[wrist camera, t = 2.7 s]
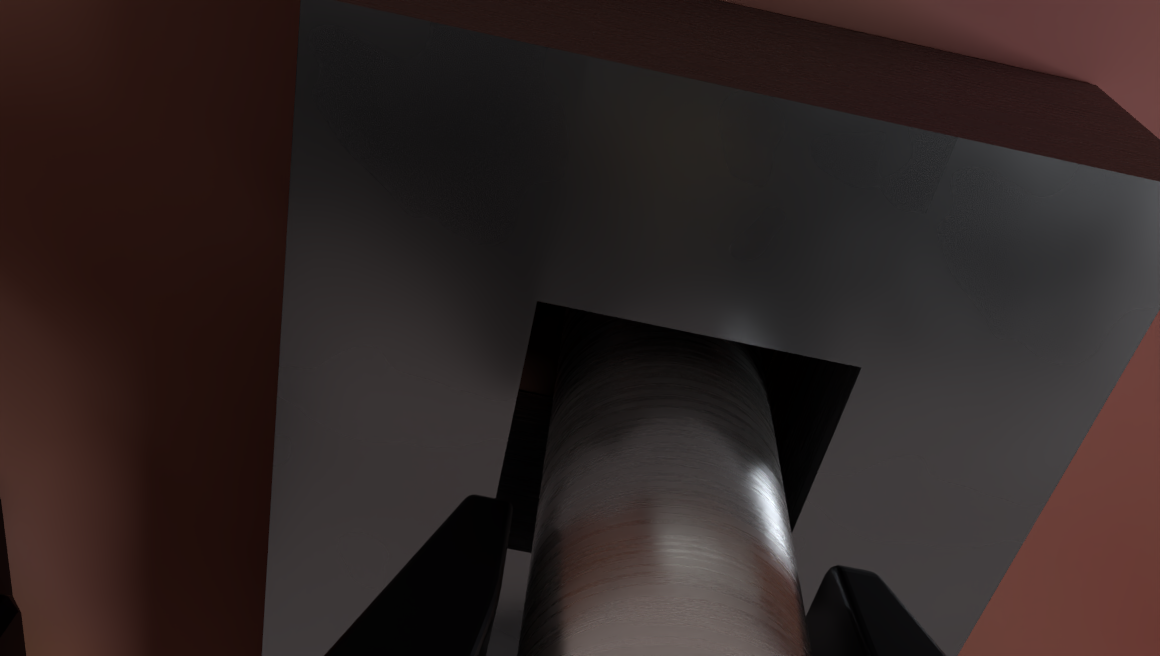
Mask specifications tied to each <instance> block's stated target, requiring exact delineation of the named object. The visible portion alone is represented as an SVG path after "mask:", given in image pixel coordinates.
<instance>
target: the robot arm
mask: <svg viewBox="0 0 1160 656" xmlns="http://www.w3.org/2000/svg"><path fill="white" fill-rule="evenodd" d="M512 514H513V506H512V504H511V503H510V502H509V501H507V500H502V499H497V498H492V497H487V496H481V495H476V494H473V495H469V496H468V497H466V498H465V499H464V500H463V501H462V502H461V503H460V504H459V506H458V507H457V508H456V509H455V510H454V511H453V512H452V513H451V514H450V516H449V517H448V518H447V519H446V520H445V521H444V522H443V523H442V525H441V526H440V527H439V528H438V529H437V530H436V531H435V532H434V533H433V535H432V536H431V537H430V538H429V539H428V540H427V541H426V542H425V543H424V545H423V546H422V547H421V548H420V549H419V550H418V551H417V552H416V553H415V555H414V556H413V557H412V558H411V559H410V560H409V561H408V562H407V564H406V565H405V566H404V567H403V568H402V569H401V570H400V571H399V572H398V574H397V575H396V576H395V577H394V578H393V579H392V580H391V581H390V582H389V584H388V585H387V586H386V587H385V588H384V589H383V590H382V591H381V593H380V594H379V595H378V596H377V597H376V598H375V599H374V600H373V601H372V603H371V604H370V605H369V606H368V607H367V608H366V609H365V610H364V611H363V613H362V614H361V615H360V616H359V617H358V618H357V619H356V620H355V621H354V623H353V624H352V625H351V626H350V627H349V628H348V629H347V630H346V632H345V633H344V634H343V635H342V636H341V637H340V638H339V639H338V640H337V642H336V643H335V644H334V645H333V646H332V647H331V648H330V649H329V650H328V652H327V653H326V654H325V655H324V656H486V654H487V649H488V645H489V640H490V636H491V632H492V627H493V623H494V619H495V614H496V610H497V606H498V601H499V596H500V592H501V587H502V580H503V574H504V567H505V560H506V554H507V547H508V541H509V534H510V527H511V521H512ZM806 622H807V627H808V633H809V639H810V645H811V651H812V656H946V655H945V653H944V652H943V651H942V650H941V649H940V647H939V646H938V645H937V644H936V643H935V641H934V640H933V639H932V638H931V637H930V635H929V634H928V633H927V632H926V631H925V629H924V628H923V627H922V626H921V625H920V623H919V622H918V621H917V620H916V619H915V618H914V616H913V615H912V614H911V613H910V612H909V610H908V609H907V608H906V607H905V606H904V604H903V603H902V602H901V601H900V600H899V598H898V597H897V596H896V595H895V594H894V592H893V591H892V590H891V589H890V588H889V586H888V585H887V584H886V583H885V582H884V580H883V579H882V578H881V577H880V576H879V575H877V574H876V573H874V572H871V571H868V570H863V569H858V568H852V567H847V566H842V565H836V566H833V567H831V568H830V569H829V570H828V571H827V572H826V574H825V576H824V578H823V580H822V582H821V584H820V587H819V589H818V591H817V593H816V595H815V597H814V600H813V602H812V604H811V606H810V608H809V611H808V613H807V615H806ZM0 656H26V651H25V642H24V634H23V625H22V617H21V612H20V610H19V608H18V606H17V604H16V602H15V600H14V598H13V594H12V586H11V578H10V570H9V562H8V554H7V546H6V537H5V529H4V521H3V513H2V505H1V499H0Z"/></svg>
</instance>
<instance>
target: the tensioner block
mask: <svg viewBox="0 0 1160 656" xmlns="http://www.w3.org/2000/svg"><path fill="white" fill-rule="evenodd" d="M537 301H540V302H545V303H549V304H554V305H559V306H564V307H569V308H574V309H579V310H584V311H588V312H593V313H598V314H603V315H608V316H613V317H618V318H623V319H627V320H632V321H637V322H642V323H647V324H652V325H657V326H662V327H666V328H671V329H676V330H681V331H686V332H691V333H696V334H701V335H705V336H710V337H715V338H720V339H725V340H730V341H735V342H740V343H744V344H749V345H754V346H759V347H764V348H769V349H774V350H775V351H774V354H773V357H772V360H771V362H770V365H769V368H768V371H767V373H766V376H765V380H766V386H767V392H768V398H769V404H770V410H771V416H772V421H773V427H774V433H775V439H776V445H777V451H778V457H779V463H780V469H781V474H782V480H783V486H784V492H785V498H786V504H787V510H788V516H789V521H790V527H791V533H792V539H793V545H794V551H795V557H796V563H797V569H798V574H799V580H800V586H801V592H802V598H803V604H804V610H805V616H806V615H807V613H808V611H809V608H810V606H811V604H812V602H813V600H814V597H815V595H816V593H817V591H818V589H819V587H820V584H821V582H822V580H823V578H824V576H825V574H826V572H827V571H828V570H829V569H830V568H831V567H833V566H836V565H842V566H847V567H852V568H858V569H863V570H868V571H871V572H874V573H876V574H877V575H879V576H880V577H881V578H882V579H883V580H884V582H885V583H886V584H887V585H888V586H889V588H890V589H891V590H892V591H893V592H894V594H895V595H896V596H897V597H898V598H899V600H900V601H901V602H902V603H903V604H904V606H905V607H906V608H907V609H908V610H909V612H910V613H911V614H912V615H913V616H914V618H915V619H916V620H917V621H918V622H919V623H920V625H921V626H922V627H923V628H924V629H925V631H926V632H927V633H928V634H929V635H930V637H931V638H932V639H933V640H934V641H935V643H936V644H937V645H938V646H939V647H940V649H941V650H942V651H943V652H944V653H945V655H946V656H957V655H958V654H959V652H960V650H961V648H962V647H963V645H964V643H965V642H966V640H967V638H968V636H969V635H970V633H971V631H972V630H973V628H974V626H975V624H976V623H977V621H978V619H979V618H980V616H981V614H982V612H983V611H984V609H985V607H986V606H987V604H988V602H989V600H990V599H991V597H992V595H993V594H994V592H995V590H996V588H997V587H998V585H999V583H1000V582H1001V580H1002V578H1003V577H1004V575H1005V573H1006V571H1007V570H1008V568H1009V566H1010V565H1011V563H1012V561H1013V559H1014V558H1015V556H1016V554H1017V553H1018V551H1019V549H1020V547H1021V546H1022V544H1023V542H1024V541H1025V539H1026V537H1027V535H1028V534H1029V532H1030V530H1031V529H1032V527H1033V525H1034V523H1035V522H1036V520H1037V518H1038V517H1039V515H1040V513H1041V511H1042V510H1043V508H1044V506H1045V505H1046V503H1047V501H1048V499H1049V498H1050V496H1051V494H1052V493H1053V491H1054V489H1055V487H1056V486H1057V484H1058V482H1059V481H1060V479H1061V477H1062V475H1063V474H1064V472H1065V470H1066V469H1067V467H1068V465H1069V464H1070V462H1071V460H1072V458H1073V457H1074V455H1075V453H1076V452H1077V450H1078V448H1079V446H1080V445H1081V443H1082V441H1083V440H1084V438H1085V436H1086V434H1087V433H1088V431H1089V429H1090V428H1091V426H1092V424H1093V422H1094V421H1095V419H1096V417H1097V416H1098V414H1099V412H1100V410H1101V409H1102V407H1103V405H1104V404H1105V402H1106V400H1107V398H1108V397H1109V395H1110V393H1111V392H1112V390H1113V388H1114V386H1115V385H1116V383H1117V381H1118V380H1119V378H1120V376H1121V374H1122V373H1123V371H1124V369H1125V368H1126V366H1127V364H1128V362H1129V361H1130V359H1131V357H1132V356H1133V354H1134V352H1135V351H1136V349H1137V347H1138V345H1139V344H1140V342H1141V340H1142V339H1143V337H1144V335H1145V333H1146V332H1147V330H1148V328H1149V327H1150V325H1151V323H1152V321H1153V320H1154V318H1155V316H1156V315H1157V313H1158V311H1159V309H1160V139H1158V138H1157V137H1156V136H1155V135H1154V134H1153V133H1151V132H1150V131H1149V130H1148V129H1147V128H1146V127H1144V126H1143V125H1142V124H1141V123H1140V122H1139V121H1137V120H1136V119H1135V118H1134V117H1133V116H1132V115H1130V114H1129V113H1128V112H1127V111H1126V110H1125V109H1123V108H1122V107H1121V106H1120V105H1119V104H1118V103H1116V102H1115V101H1114V100H1113V99H1112V98H1110V97H1109V96H1108V95H1107V94H1106V93H1105V92H1103V91H1102V90H1101V89H1100V88H1099V87H1098V86H1096V85H1093V84H1088V83H1084V82H1079V81H1075V80H1070V79H1066V78H1061V77H1057V76H1053V75H1048V74H1044V73H1039V72H1035V71H1030V70H1026V69H1021V68H1017V67H1012V66H1008V65H1003V64H999V63H995V62H990V61H986V60H981V59H977V58H972V57H968V56H963V55H959V54H954V53H950V52H945V51H941V50H937V49H932V48H928V47H923V46H919V45H914V44H910V43H905V42H901V41H896V40H892V39H887V38H883V37H879V36H874V35H870V34H865V33H861V32H856V31H852V30H847V29H843V28H838V27H834V26H829V25H825V24H821V23H816V22H812V21H807V20H803V19H798V18H794V17H789V16H785V15H780V14H776V13H771V12H767V11H763V10H758V9H754V8H749V7H745V6H740V5H736V4H731V3H727V2H722V1H718V0H301V3H300V20H299V37H298V54H297V70H296V87H295V104H294V121H293V138H292V155H291V172H290V188H289V205H288V222H287V239H286V256H285V273H284V290H283V306H282V323H281V340H280V357H279V374H278V391H277V407H276V424H275V441H274V458H273V475H272V492H271V509H270V525H269V542H268V559H267V576H266V593H265V610H264V627H263V643H262V656H324V655H325V654H326V653H327V652H328V650H329V649H330V648H331V647H332V646H333V645H334V644H335V643H336V642H337V640H338V639H339V638H340V637H341V636H342V635H343V634H344V633H345V632H346V630H347V629H348V628H349V627H350V626H351V625H352V624H353V623H354V621H355V620H356V619H357V618H358V617H359V616H360V615H361V614H362V613H363V611H364V610H365V609H366V608H367V607H368V606H369V605H370V604H371V603H372V601H373V600H374V599H375V598H376V597H377V596H378V595H379V594H380V593H381V591H382V590H383V589H384V588H385V587H386V586H387V585H388V584H389V582H390V581H391V580H392V579H393V578H394V577H395V576H396V575H397V574H398V572H399V571H400V570H401V569H402V568H403V567H404V566H405V565H406V564H407V562H408V561H409V560H410V559H411V558H412V557H413V556H414V555H415V553H416V552H417V551H418V550H419V549H420V548H421V547H422V546H423V545H424V543H425V542H426V541H427V540H428V539H429V538H430V537H431V536H432V535H433V533H434V532H435V531H436V530H437V529H438V528H439V527H440V526H441V525H442V523H443V522H444V521H445V520H446V519H447V518H448V517H449V516H450V514H451V513H452V512H453V511H454V510H455V509H456V508H457V507H458V506H459V504H460V503H461V502H462V501H463V500H464V499H465V498H466V497H468V496H469V495H473V494H476V495H481V496H487V497H492V498H497V499H502V500H507V501H509V502H510V503H511V504H512V506H513V514H512V521H511V527H510V534H509V541H508V547H507V554H506V560H505V567H504V574H503V580H502V587H501V592H500V596H499V601H498V606H497V610H496V614H495V619H494V623H493V627H492V632H491V636H490V640H489V645H488V649H487V654H486V656H517V652H518V645H519V638H520V631H521V624H522V617H523V610H524V602H525V595H526V588H527V581H528V574H529V567H530V559H531V552H532V545H533V538H534V531H535V524H536V517H537V509H538V502H539V495H540V488H541V481H542V474H543V466H544V459H545V452H546V445H547V438H548V431H549V424H550V416H551V409H552V402H553V398H551V397H546V396H541V395H536V394H531V393H526V392H521V391H518V390H519V385H520V380H521V375H522V371H523V366H524V361H525V356H526V352H527V347H528V342H529V337H530V333H531V328H532V323H533V318H534V314H535V309H536V304H537Z"/></svg>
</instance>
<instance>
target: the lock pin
mask: <svg viewBox="0 0 1160 656" xmlns="http://www.w3.org/2000/svg"><path fill="white" fill-rule="evenodd" d="M517 656H812V651H811V645H810V639H809V633H808V627H807V622H806V616H805V610H804V604H803V598H802V592H801V586H800V580H799V574H798V569H797V563H796V557H795V551H794V545H793V539H792V533H791V527H790V521H789V516H788V510H787V504H786V498H785V492H784V486H783V480H782V474H781V469H780V463H779V457H778V451H777V445H776V439H775V433H774V427H773V421H772V416H771V410H770V404H769V398H768V392H767V386H766V380H765V374H764V369H763V363H762V357H761V351H760V347H759V346H754V345H749V344H744V343H740V342H735V341H730V340H725V339H720V338H715V337H710V336H705V335H701V334H696V333H691V332H686V331H681V330H676V329H671V328H666V327H662V326H657V325H652V324H647V323H642V322H637V321H632V320H627V319H623V318H618V317H613V316H608V315H603V314H598V313H593V312H588V311H584V310H579V309H574V308H569V307H566V309H565V316H564V323H563V331H562V338H561V345H560V352H559V359H558V366H557V373H556V381H555V388H554V395H553V402H552V409H551V416H550V424H549V431H548V438H547V445H546V452H545V459H544V466H543V474H542V481H541V488H540V495H539V502H538V509H537V517H536V524H535V531H534V538H533V545H532V552H531V559H530V567H529V574H528V581H527V588H526V595H525V602H524V610H523V617H522V624H521V631H520V638H519V645H518V652H517Z"/></svg>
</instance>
